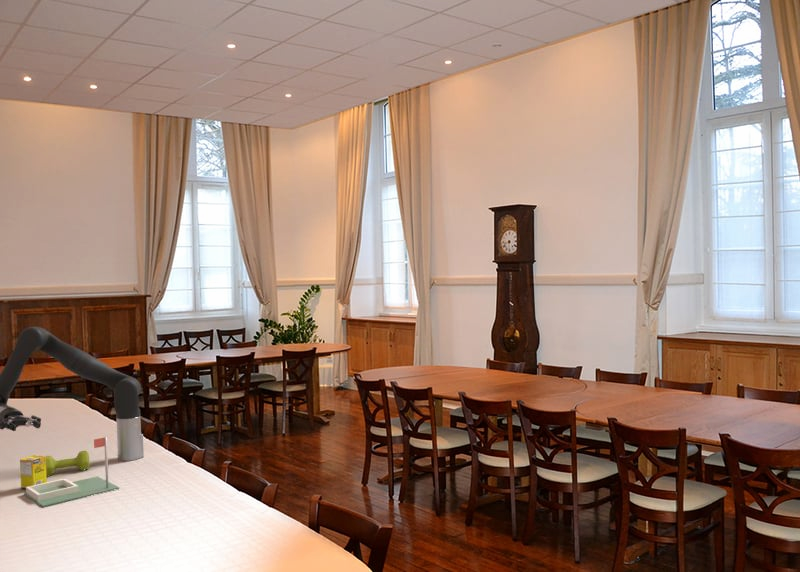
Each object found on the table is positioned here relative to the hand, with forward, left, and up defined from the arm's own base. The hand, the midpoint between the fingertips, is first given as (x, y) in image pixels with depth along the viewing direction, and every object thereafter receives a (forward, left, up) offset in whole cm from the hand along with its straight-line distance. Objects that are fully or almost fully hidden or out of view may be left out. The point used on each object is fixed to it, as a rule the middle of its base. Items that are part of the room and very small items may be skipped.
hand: (27, 427), depth 250 cm
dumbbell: (-14, -3, -21) cm, 25 cm away
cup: (-7, +25, -20) cm, 33 cm away
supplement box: (+1, +9, -21) cm, 23 cm away
